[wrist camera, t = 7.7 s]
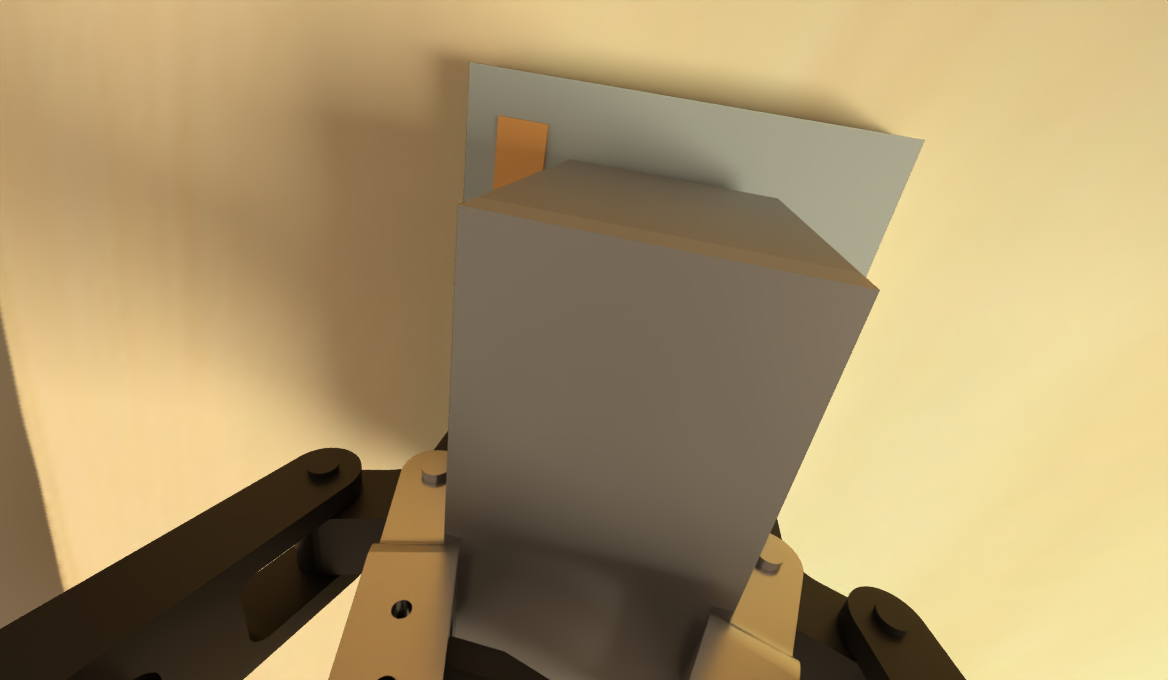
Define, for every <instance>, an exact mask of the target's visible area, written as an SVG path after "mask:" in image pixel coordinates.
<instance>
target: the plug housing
mask: <svg viewBox="0 0 1168 680" xmlns="http://www.w3.org/2000/svg"><path fill="white" fill-rule="evenodd" d="M879 291H880V290H879V289H878V288H877V287H876V286H875V285H874V284H872V283H871V282H870V281H869V280H868V279H867V278H866V277H865V276H864V275H862V274H861V273H860V272H859V271H858V270H857V269H856V268H855V267H854V266H852V265H851V264H850V263H849V262H848V261H847V260H846V259H845V258H844V257H842V256H841V255H840V254H839V253H838V252H837V251H836V250H835V249H834V248H832V247H831V246H830V245H829V244H828V243H827V242H826V241H825V240H824V239H822V238H821V237H820V236H819V235H818V234H817V233H816V232H815V231H814V230H812V229H811V228H810V227H809V226H808V225H807V224H806V223H805V222H804V221H802V220H801V219H800V218H799V217H798V216H797V215H796V214H795V213H794V212H792V211H791V210H790V209H789V208H788V207H787V206H786V205H785V204H784V203H782V202H781V201H780V200H779V199H778V198H773V197H768V196H763V195H757V194H752V193H747V192H741V191H736V190H731V189H725V188H720V187H715V186H710V185H704V184H699V183H694V182H688V181H683V180H678V179H672V178H667V177H662V176H656V175H651V174H646V173H640V172H635V171H630V170H625V169H619V168H614V167H609V166H603V165H598V164H593V163H587V162H582V161H577V160H571V159H569V160H566V161H564V162H562V163H559V164H557V165H554V166H552V167H549V168H547V169H544V170H542V171H540V172H537V173H535V174H532V175H530V176H527V177H525V178H522V179H520V180H518V181H515V182H513V183H510V184H508V185H505V186H503V187H500V188H498V189H495V190H493V191H491V192H488V193H486V194H483V195H481V196H478V197H476V198H473V199H471V200H469V201H466V202H464V203H461V204H459V205H458V210H457V234H456V258H455V282H454V306H453V330H452V355H451V379H450V403H449V427H448V451H447V475H446V499H445V523H444V534H448V535H451V536H455V537H459V538H462V539H461V554H460V565H459V575H458V587H457V603H456V632H455V637H457V638H460V639H464V640H467V641H470V642H474V643H477V644H481V645H484V646H488V647H491V648H495V649H498V650H501V651H505V652H506V653H508V654H509V655H511V656H513V657H514V658H516V659H518V660H519V661H521V662H522V663H524V664H526V665H527V666H529V667H530V668H532V669H534V670H535V671H537V672H538V673H540V674H542V675H543V676H545V677H546V678H548V679H550V680H682V678H683V676H684V673H685V671H686V669H687V666H688V664H689V661H690V659H691V657H692V654H693V652H694V649H695V647H696V644H697V641H698V639H699V636H700V633H701V630H702V627H703V624H704V622H705V619H706V617H707V615H708V612H709V610H710V607H711V606H714V607H718V608H722V609H725V610H729V611H733V612H735V610H736V607H737V605H738V603H739V601H740V599H741V596H742V594H743V592H744V590H745V588H746V585H747V583H748V581H749V579H750V576H751V574H752V572H753V570H754V568H755V565H756V563H757V561H758V559H759V557H760V554H761V552H762V550H763V548H764V545H765V543H766V541H767V539H768V537H769V534H770V532H771V530H772V528H773V526H774V523H775V521H776V519H777V517H778V514H779V512H780V510H781V508H782V506H783V503H784V501H785V499H786V497H787V495H788V492H789V490H790V488H791V486H792V483H793V481H794V479H795V477H796V475H797V472H798V470H799V468H800V466H801V464H802V461H803V459H804V457H805V455H806V452H807V450H808V448H809V446H810V444H811V441H812V439H813V437H814V435H815V433H816V430H817V428H818V426H819V424H820V421H821V419H822V417H823V415H824V413H825V410H826V408H827V406H828V404H829V402H830V399H831V397H832V395H833V393H834V390H835V388H836V386H837V384H838V382H839V379H840V377H841V375H842V373H843V371H844V368H845V366H846V364H847V362H848V359H849V357H850V355H851V353H852V351H853V348H854V346H855V344H856V342H857V340H858V337H859V335H860V333H861V331H862V328H863V326H864V324H865V322H866V320H867V317H868V315H869V313H870V311H871V309H872V306H873V304H874V302H875V300H876V297H877V295H878V293H879Z"/></svg>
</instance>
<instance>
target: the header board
mask: <svg viewBox="0 0 1168 680" xmlns="http://www.w3.org/2000/svg"><path fill="white" fill-rule="evenodd" d="M924 141H925V140H922V139H916V138H911V137H905V136H899V135H893V134H887V133H881V132H876V131H870V130H864V129H858V128H852V127H846V126H841V125H835V124H829V123H823V122H817V121H811V120H806V119H800V118H794V117H788V116H782V115H776V114H771V113H765V112H759V111H753V110H747V109H741V108H736V107H730V106H724V105H718V104H712V103H707V102H701V101H695V100H689V99H683V98H677V97H672V96H666V95H660V94H654V93H648V92H642V91H637V90H631V89H625V88H619V87H613V86H607V85H602V84H596V83H590V82H584V81H578V80H572V79H567V78H561V77H555V76H549V75H543V74H537V73H532V72H526V71H520V70H514V69H508V68H502V67H497V66H491V65H485V64H479V63H473V62H470V69H469V91H468V112H467V134H466V156H465V177H464V199H463V203H464V202H466V201H469V200H471V199H473V198H476V197H478V196H481V195H483V194H486V193H488V192H491V191H493V190H495V189H498V188H500V187H503V186H505V185H508V184H510V183H513V182H515V181H518V180H520V179H522V178H525V177H527V176H530V175H532V174H535V173H537V172H540V171H542V170H544V169H547V168H549V167H552V166H554V165H557V164H559V163H562V162H564V161H566V160H569V159H571V160H577V161H582V162H587V163H593V164H598V165H603V166H609V167H614V168H619V169H625V170H630V171H635V172H640V173H646V174H651V175H656V176H662V177H667V178H672V179H678V180H683V181H688V182H694V183H699V184H704V185H710V186H715V187H720V188H725V189H731V190H736V191H741V192H747V193H752V194H757V195H763V196H768V197H773V198H778V199H779V200H780V201H781V202H782V203H784V204H785V205H786V206H787V207H788V208H789V209H790V210H791V211H792V212H794V213H795V214H796V215H797V216H798V217H799V218H800V219H801V220H802V221H804V222H805V223H806V224H807V225H808V226H809V227H810V228H811V229H812V230H814V231H815V232H816V233H817V234H818V235H819V236H820V237H821V238H822V239H824V240H825V241H826V242H827V243H828V244H829V245H830V246H831V247H832V248H834V249H835V250H836V251H837V252H838V253H839V254H840V255H841V256H842V257H844V258H845V259H846V260H847V261H848V262H849V263H850V264H851V265H852V266H854V267H855V268H856V269H857V270H858V271H859V272H860V273H861V274H862V275H864V276H865V277H866V276H867V273H868V271H869V269H870V266H871V264H872V262H873V259H874V257H875V255H876V252H877V250H878V248H879V245H880V243H881V241H882V238H883V236H884V234H885V232H886V229H887V227H888V225H889V222H890V220H891V218H892V215H893V213H894V211H895V208H896V206H897V204H898V201H899V199H900V197H901V194H902V192H903V190H904V188H905V185H906V183H907V181H908V178H909V176H910V174H911V171H912V169H913V167H914V164H915V162H916V160H917V157H918V155H919V153H920V150H921V148H922V146H923V143H924Z"/></svg>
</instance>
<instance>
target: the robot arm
mask: <svg viewBox="0 0 1168 680" xmlns="http://www.w3.org/2000/svg"><path fill="white" fill-rule="evenodd" d="M447 451H448V432H447V433H446V434H445V436H444V437H443V438H442V440H441V441H440V442H439V444H438V445H437V447H436V448H435V449H434V451H427V452H423V453H420V454H418V455H416V456H414V457H412V458H411V459H409V460H408V461H407V462H406V463H405V465H404V466H403V468H402V469H397V470H362V466H361V461H360V459H359V457H358V456H357V455H356V454H354V453H353V452H351V451H349V450H345V449H340V448H324V449H318V450H315V451H311V452H309V453H306V454H304V455H302V456H300V457H298V458H297V459H295V460H293V461H291V462H290V463H288V464H286V465H284V466H283V467H281V468H279V469H277V470H276V471H274V472H272V473H270V474H269V475H267V476H265V477H263V478H262V479H260V480H258V481H257V482H255V483H253V484H251V485H250V486H248V487H246V488H244V489H243V490H241V491H239V492H237V493H236V494H234V495H232V496H230V497H229V498H227V499H225V500H224V501H222V502H220V503H218V504H217V505H215V506H213V507H211V508H210V509H208V510H206V511H204V512H203V513H201V514H199V515H197V516H196V517H194V518H192V519H191V520H189V521H187V522H185V523H184V524H182V525H180V526H178V527H177V528H175V529H173V530H171V531H170V532H168V533H166V534H164V535H163V536H161V537H159V538H158V539H156V540H154V541H152V542H151V543H149V544H147V545H145V546H144V547H142V548H140V549H138V550H137V551H135V552H133V553H131V554H130V555H128V556H126V557H124V558H123V559H121V560H119V561H118V562H116V563H114V564H112V565H111V566H109V567H107V568H105V569H104V570H102V571H100V572H98V573H97V574H95V575H93V576H91V577H90V578H88V579H86V580H85V581H83V582H81V583H79V584H78V585H76V586H74V587H72V588H71V589H69V590H67V591H65V592H64V593H62V594H60V595H58V596H57V597H55V598H53V599H52V600H50V601H48V602H46V603H45V604H43V605H41V606H39V607H38V608H36V609H34V610H32V611H31V612H29V613H27V614H26V615H24V616H22V617H20V618H19V619H17V620H15V621H13V622H12V623H10V624H8V625H6V626H5V627H3V628H1V629H0V680H243V679H244V678H245V677H247V676H248V675H249V674H250V673H251V672H252V671H253V670H254V669H256V668H257V667H258V666H259V665H260V664H261V663H262V662H263V661H265V660H266V659H267V658H268V657H269V656H270V655H271V654H272V653H273V652H275V651H276V650H277V649H278V648H279V647H280V646H281V645H282V644H284V643H285V642H286V641H287V640H288V639H289V638H290V637H291V636H293V635H294V634H295V633H296V632H297V631H298V630H299V629H300V628H302V627H303V626H304V625H305V624H306V623H307V622H308V621H309V620H311V619H312V618H313V617H314V616H315V615H316V614H317V613H318V612H320V611H321V610H322V609H323V608H324V607H325V606H326V605H327V604H328V603H330V602H331V601H332V600H333V599H334V598H335V597H336V596H337V595H339V594H340V593H341V592H342V591H343V590H344V589H345V588H346V587H348V586H349V585H350V584H351V583H352V582H353V581H354V580H355V579H356V578H357V577H358V576H359V575H360V574H361V577H360V580H359V584H358V587H357V590H356V593H355V596H354V599H353V603H352V606H351V609H350V612H349V615H348V619H347V622H346V625H345V628H344V631H343V634H342V638H341V641H340V644H339V647H338V650H337V653H336V657H335V660H334V663H333V666H332V669H331V672H330V676H329V679H328V680H550V679H548V678H546V677H545V676H543V675H542V674H540V673H538V672H537V671H535V670H534V669H532V668H530V667H529V666H527V665H526V664H524V663H522V662H521V661H519V660H518V659H516V658H514V657H513V656H511V655H509V654H508V653H506V652H505V651H501V650H498V649H495V648H491V647H488V646H484V645H481V644H477V643H474V642H470V641H467V640H464V639H460V638H457V637H455V632H456V603H457V587H458V575H459V565H460V554H461V539H462V538H459V537H455V536H451V535H448V534H444V523H445V499H446V475H447ZM292 546H293V547H292ZM291 547H292V548H291ZM288 549H289V550H288ZM287 550H288V551H287ZM285 551H286V552H285ZM284 552H285V553H284ZM281 554H282V555H281ZM280 555H281V556H280ZM277 557H278V558H277ZM276 558H277V559H276ZM274 559H275V560H274ZM273 560H274V561H273ZM270 562H271V563H270ZM269 563H270V564H269ZM266 565H267V566H266ZM265 566H266V567H265ZM262 568H263V569H262ZM261 569H262V570H261ZM259 570H260V571H259ZM258 571H259V572H258ZM682 680H966V679H965V678H964V676H963V675H962V674H961V672H960V671H959V670H958V668H957V667H956V665H955V664H954V663H953V661H952V660H951V659H950V657H949V656H948V655H947V653H946V652H945V650H944V649H943V648H942V646H941V645H940V644H939V642H938V641H937V640H936V638H935V637H934V636H933V634H932V633H931V631H930V630H929V629H928V627H927V626H926V625H925V623H924V622H923V621H922V619H921V618H920V617H919V616H918V615H917V614H916V613H915V612H914V611H913V610H912V609H911V608H910V607H909V606H908V605H907V604H906V603H904V602H903V601H901V600H900V599H899V598H897V597H895V596H894V595H892V594H890V593H888V592H886V591H884V590H881V589H878V588H874V587H867V586H864V587H858V588H856V589H854V590H853V591H852V592H851V593H850V594H849V596H848V597H846V596H844V595H842V594H840V593H838V592H836V591H834V590H832V589H830V588H829V587H827V586H825V585H823V584H821V583H819V582H817V581H816V580H814V579H812V578H811V577H809V576H808V575H807V574H805V573H804V572H803V566H802V563H801V561H800V559H799V557H798V556H797V554H796V553H795V552H794V550H793V549H792V548H791V547H790V546H789V545H787V544H786V543H785V542H784V541H782V538H781V534H780V529H779V525H778V521H777V519H776V521H775V523H774V526H773V528H772V530H771V532H770V534H769V537H768V539H767V541H766V543H765V545H764V548H763V550H762V552H761V554H760V557H759V559H758V561H757V563H756V565H755V568H754V570H753V572H752V574H751V576H750V579H749V581H748V583H747V585H746V588H745V590H744V592H743V594H742V596H741V599H740V601H739V603H738V605H737V607H736V610H735V612H733V611H729V610H725V609H722V608H718V607H714V606H711V607H710V610H709V612H708V615H707V617H706V619H705V622H704V624H703V627H702V630H701V633H700V636H699V639H698V641H697V644H696V647H695V649H694V652H693V654H692V657H691V659H690V661H689V664H688V666H687V669H686V671H685V673H684V676H683V678H682Z"/></svg>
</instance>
